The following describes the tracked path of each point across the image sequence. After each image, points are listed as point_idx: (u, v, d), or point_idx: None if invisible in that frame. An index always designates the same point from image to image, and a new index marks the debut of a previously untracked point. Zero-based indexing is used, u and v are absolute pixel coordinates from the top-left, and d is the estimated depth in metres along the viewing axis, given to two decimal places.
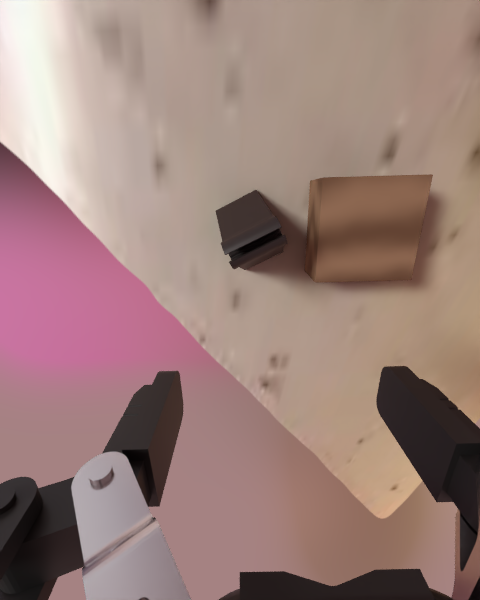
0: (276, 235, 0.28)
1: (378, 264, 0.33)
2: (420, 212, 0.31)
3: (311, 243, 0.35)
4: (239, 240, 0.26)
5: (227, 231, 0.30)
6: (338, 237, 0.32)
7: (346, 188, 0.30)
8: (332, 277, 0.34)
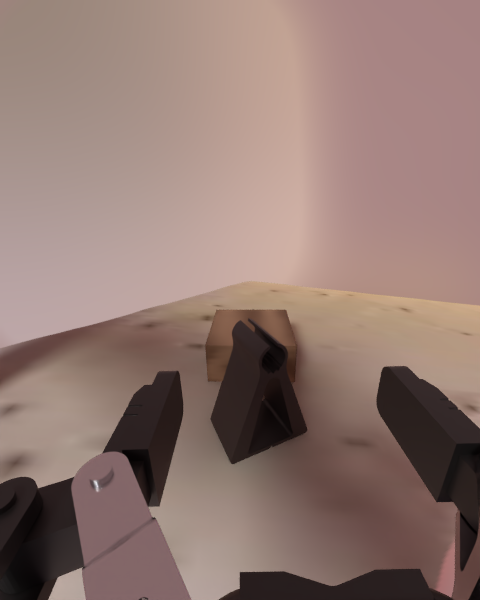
0: None
1: (275, 320, 0.42)
2: (239, 311, 0.46)
3: None
4: (253, 341, 0.25)
5: (249, 390, 0.25)
6: None
7: (216, 335, 0.38)
8: (290, 337, 0.37)
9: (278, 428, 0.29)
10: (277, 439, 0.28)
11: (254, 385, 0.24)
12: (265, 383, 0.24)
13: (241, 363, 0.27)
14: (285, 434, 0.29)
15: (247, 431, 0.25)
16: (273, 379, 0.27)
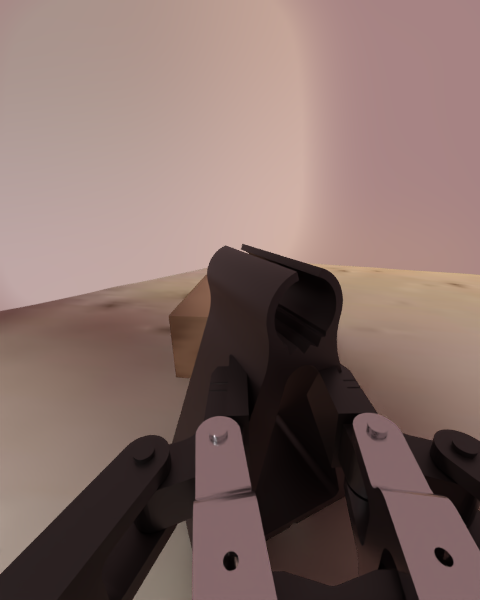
0: None
1: None
2: None
3: None
4: (252, 272, 0.10)
5: None
6: None
7: (192, 303, 0.23)
8: None
9: (306, 477, 0.14)
10: (305, 504, 0.13)
11: (254, 385, 0.09)
12: (283, 379, 0.09)
13: (225, 335, 0.12)
14: (322, 491, 0.13)
15: None
16: (299, 372, 0.12)
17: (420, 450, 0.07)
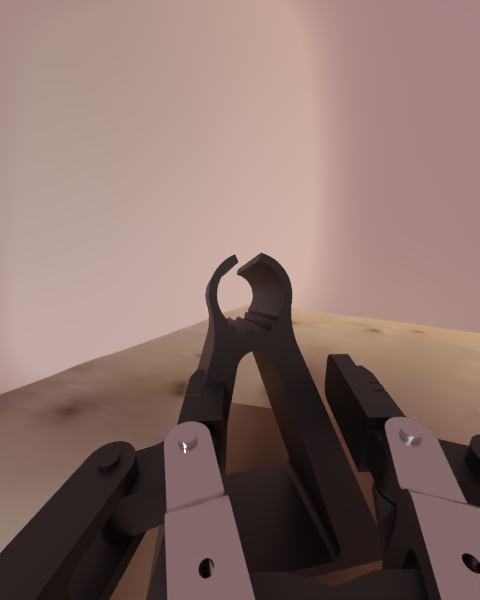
0: (244, 318, 0.15)
1: None
2: (251, 410, 0.20)
3: None
4: None
5: None
6: None
7: None
8: None
9: (305, 532, 0.11)
10: (295, 561, 0.10)
11: (207, 367, 0.10)
12: (234, 362, 0.09)
13: (208, 341, 0.13)
14: (320, 552, 0.10)
15: None
16: (274, 377, 0.11)
17: (455, 455, 0.07)
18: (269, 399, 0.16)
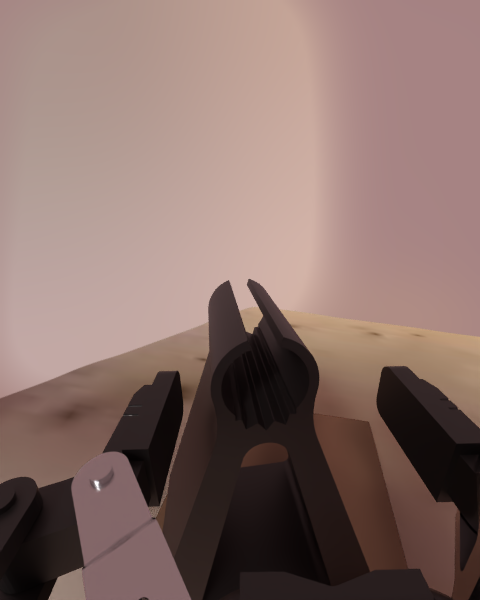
0: (253, 338, 0.13)
1: (345, 472, 0.16)
2: None
3: None
4: (221, 325, 0.09)
5: (201, 460, 0.09)
6: None
7: None
8: None
9: (298, 552, 0.12)
10: None
11: (208, 452, 0.08)
12: (239, 454, 0.08)
13: (210, 380, 0.11)
14: (311, 578, 0.11)
15: (191, 566, 0.09)
16: None
17: None
18: None
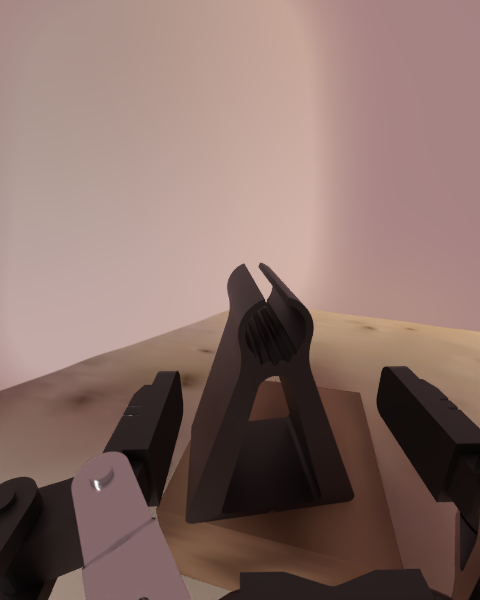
0: (263, 310, 0.16)
1: (337, 430, 0.19)
2: (263, 384, 0.24)
3: None
4: (242, 293, 0.12)
5: (226, 392, 0.12)
6: None
7: None
8: (379, 519, 0.14)
9: (297, 477, 0.15)
10: (288, 499, 0.14)
11: (233, 384, 0.12)
12: (256, 384, 0.11)
13: (230, 340, 0.14)
14: (306, 493, 0.15)
15: (217, 472, 0.13)
16: (287, 381, 0.13)
17: None
18: None
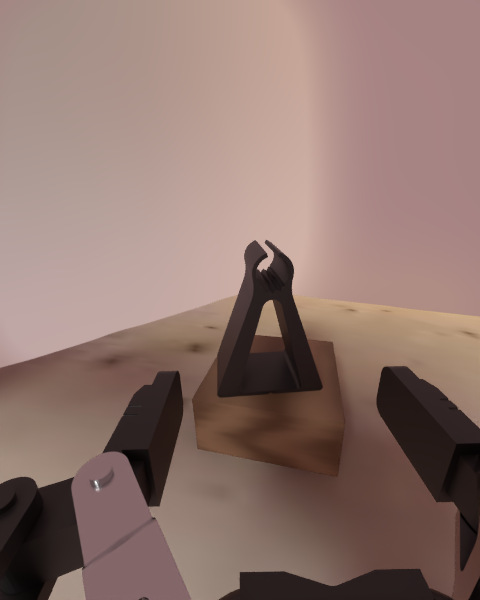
0: (267, 271, 0.25)
1: None
2: (261, 337, 0.32)
3: (284, 443, 0.22)
4: (255, 253, 0.20)
5: (244, 312, 0.21)
6: None
7: (215, 380, 0.25)
8: (334, 401, 0.22)
9: (287, 378, 0.24)
10: (280, 387, 0.23)
11: (248, 305, 0.20)
12: (261, 304, 0.20)
13: (246, 286, 0.23)
14: (292, 385, 0.23)
15: (238, 362, 0.21)
16: (280, 310, 0.22)
17: None
18: (277, 317, 0.27)
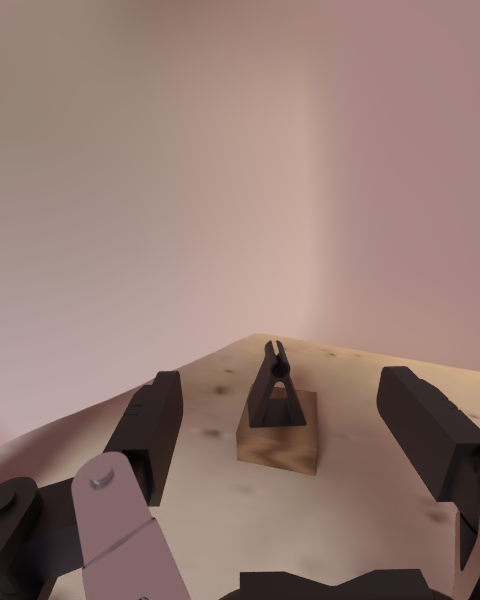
0: (277, 356, 0.44)
1: (303, 407, 0.46)
2: None
3: (286, 457, 0.41)
4: (270, 356, 0.40)
5: (265, 385, 0.40)
6: (280, 428, 0.42)
7: (247, 420, 0.43)
8: (313, 435, 0.40)
9: (287, 417, 0.43)
10: (283, 423, 0.42)
11: (267, 383, 0.40)
12: (273, 383, 0.39)
13: (265, 368, 0.42)
14: (290, 422, 0.42)
15: (261, 410, 0.41)
16: None
17: None
18: None
